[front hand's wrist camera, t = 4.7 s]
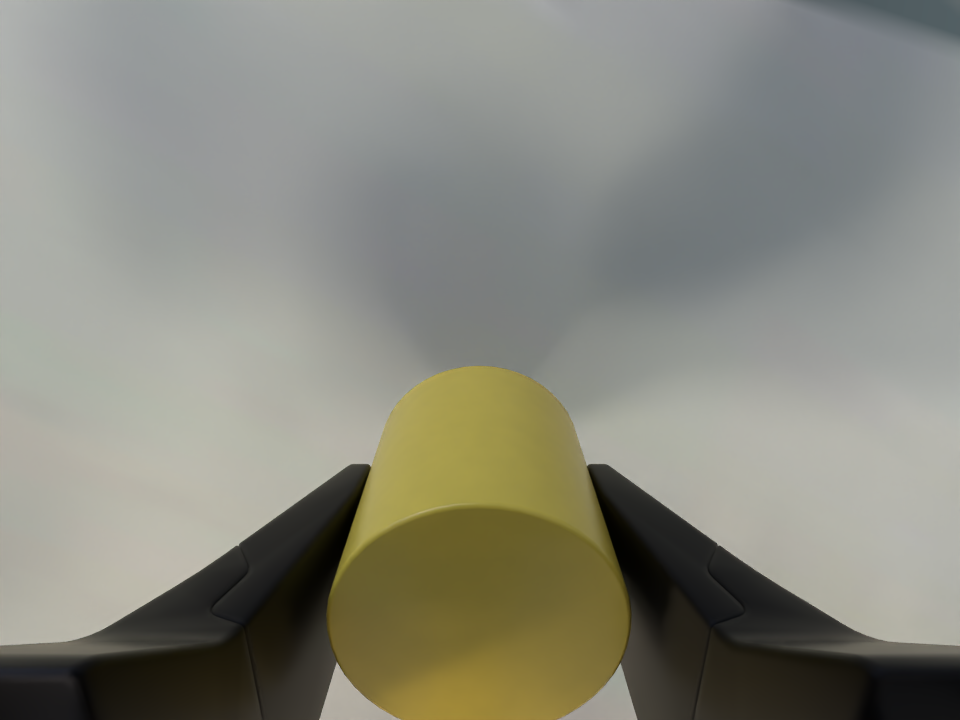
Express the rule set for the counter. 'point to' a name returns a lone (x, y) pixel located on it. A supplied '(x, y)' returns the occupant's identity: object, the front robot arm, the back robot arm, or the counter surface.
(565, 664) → the cylinder
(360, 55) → the counter surface
